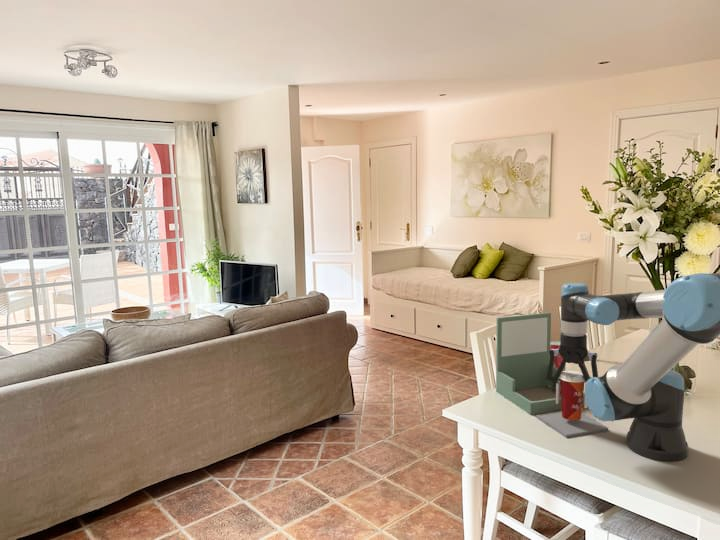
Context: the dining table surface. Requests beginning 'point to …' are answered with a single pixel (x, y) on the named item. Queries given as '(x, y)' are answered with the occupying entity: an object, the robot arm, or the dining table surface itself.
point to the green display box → (525, 360)
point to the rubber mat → (571, 424)
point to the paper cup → (571, 394)
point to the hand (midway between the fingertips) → (571, 404)
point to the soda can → (558, 358)
